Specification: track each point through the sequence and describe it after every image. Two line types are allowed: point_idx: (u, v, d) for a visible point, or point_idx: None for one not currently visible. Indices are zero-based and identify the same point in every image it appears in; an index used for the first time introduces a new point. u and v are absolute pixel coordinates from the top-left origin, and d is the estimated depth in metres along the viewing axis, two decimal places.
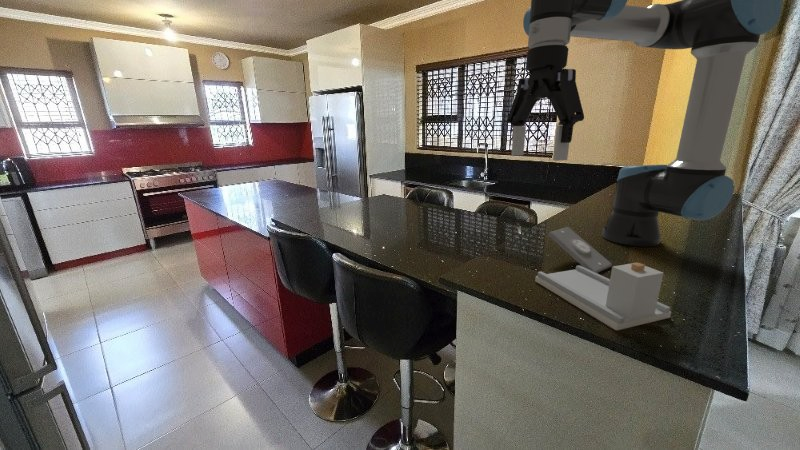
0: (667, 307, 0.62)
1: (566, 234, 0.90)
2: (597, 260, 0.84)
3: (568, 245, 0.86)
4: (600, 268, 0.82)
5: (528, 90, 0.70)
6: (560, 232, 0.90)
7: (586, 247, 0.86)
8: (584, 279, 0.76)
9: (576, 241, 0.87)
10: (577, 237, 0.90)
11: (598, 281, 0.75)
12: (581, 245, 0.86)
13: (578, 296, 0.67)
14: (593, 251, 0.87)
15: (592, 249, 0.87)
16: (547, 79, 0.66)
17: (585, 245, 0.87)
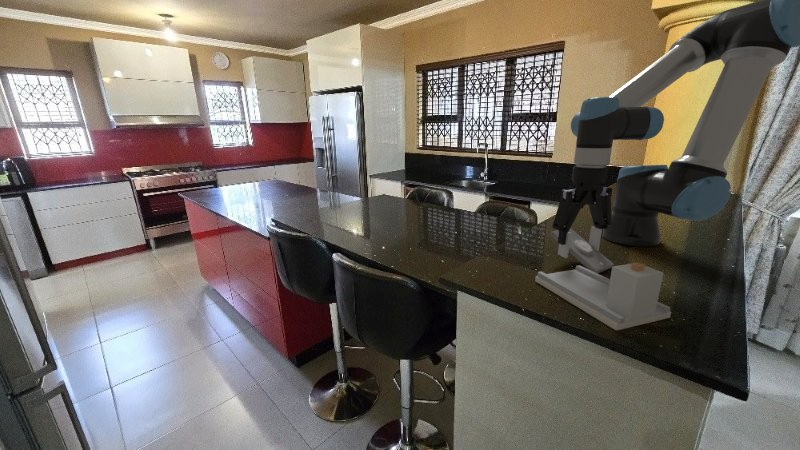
0: (667, 307, 0.62)
1: None
2: (599, 260, 0.84)
3: (570, 245, 0.86)
4: (602, 268, 0.82)
5: None
6: None
7: (588, 247, 0.86)
8: (584, 279, 0.76)
9: (578, 241, 0.87)
10: (579, 237, 0.90)
11: (598, 281, 0.75)
12: (583, 245, 0.86)
13: (578, 296, 0.67)
14: (595, 252, 0.86)
15: (594, 249, 0.87)
16: None
17: (587, 245, 0.86)
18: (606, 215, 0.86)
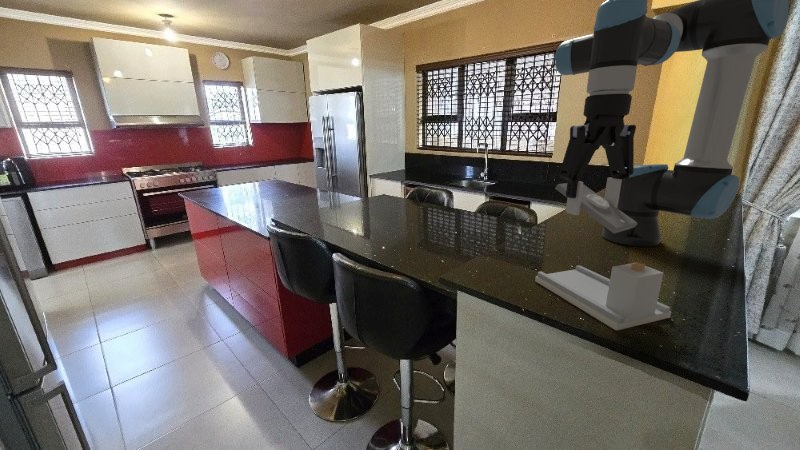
0: (667, 307, 0.62)
1: None
2: (619, 217, 0.66)
3: (581, 199, 0.68)
4: (623, 226, 0.64)
5: None
6: None
7: (604, 202, 0.68)
8: (584, 279, 0.76)
9: (591, 195, 0.69)
10: (592, 192, 0.72)
11: (598, 281, 0.75)
12: (598, 199, 0.68)
13: (578, 296, 0.67)
14: (612, 208, 0.68)
15: (611, 206, 0.69)
16: None
17: (602, 200, 0.68)
18: (627, 161, 0.68)
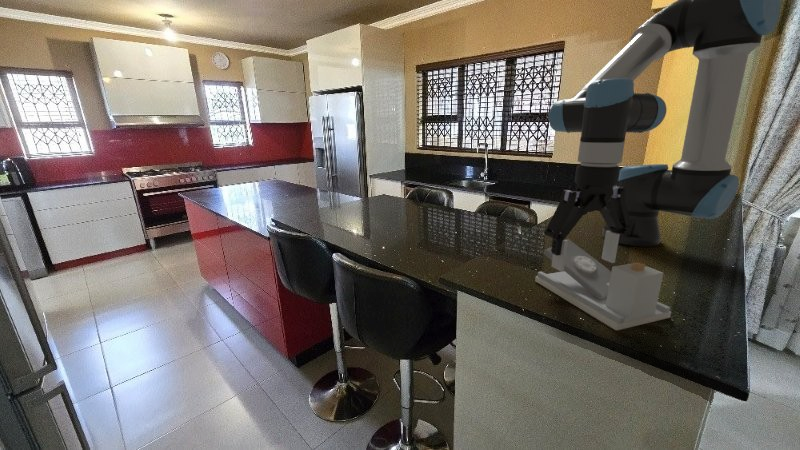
0: (667, 307, 0.62)
1: None
2: (606, 280, 0.69)
3: (569, 265, 0.71)
4: None
5: None
6: None
7: (591, 264, 0.71)
8: None
9: (578, 258, 0.72)
10: (580, 251, 0.75)
11: None
12: (584, 263, 0.71)
13: (578, 296, 0.67)
14: (600, 269, 0.72)
15: (599, 265, 0.72)
16: None
17: (590, 262, 0.72)
18: (623, 219, 0.71)
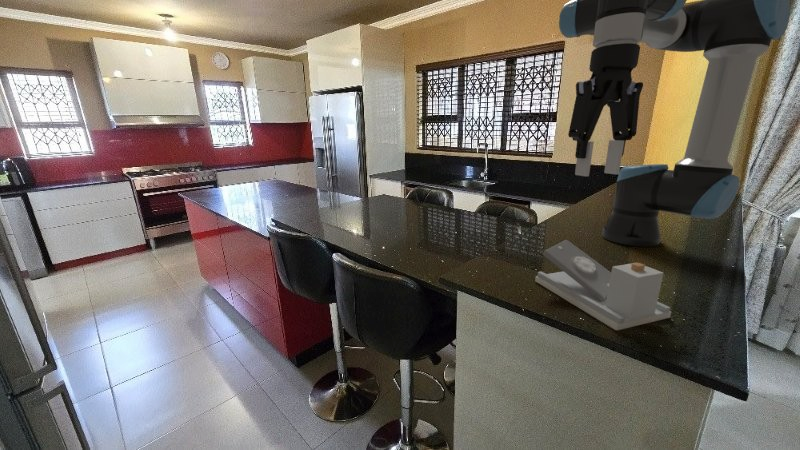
0: (667, 307, 0.62)
1: (565, 250, 0.74)
2: (606, 280, 0.69)
3: (568, 266, 0.71)
4: None
5: None
6: (557, 249, 0.74)
7: (590, 265, 0.71)
8: None
9: (577, 259, 0.72)
10: (579, 252, 0.75)
11: None
12: (584, 263, 0.71)
13: (578, 296, 0.67)
14: (599, 269, 0.71)
15: (598, 266, 0.72)
16: None
17: (589, 262, 0.71)
18: (631, 121, 0.65)
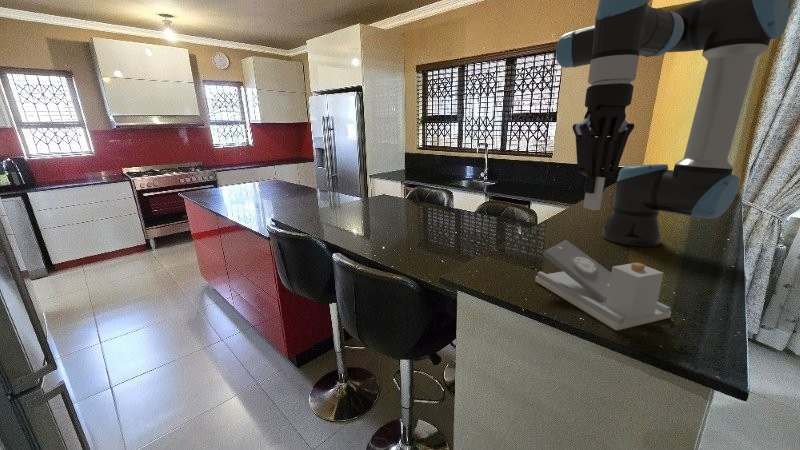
0: (667, 307, 0.62)
1: (565, 250, 0.74)
2: (606, 281, 0.69)
3: (569, 266, 0.70)
4: None
5: None
6: (557, 249, 0.74)
7: (590, 265, 0.71)
8: None
9: (577, 259, 0.72)
10: (578, 252, 0.75)
11: None
12: (584, 264, 0.71)
13: (578, 296, 0.67)
14: (599, 269, 0.71)
15: (598, 266, 0.72)
16: None
17: (589, 263, 0.71)
18: (615, 158, 0.66)
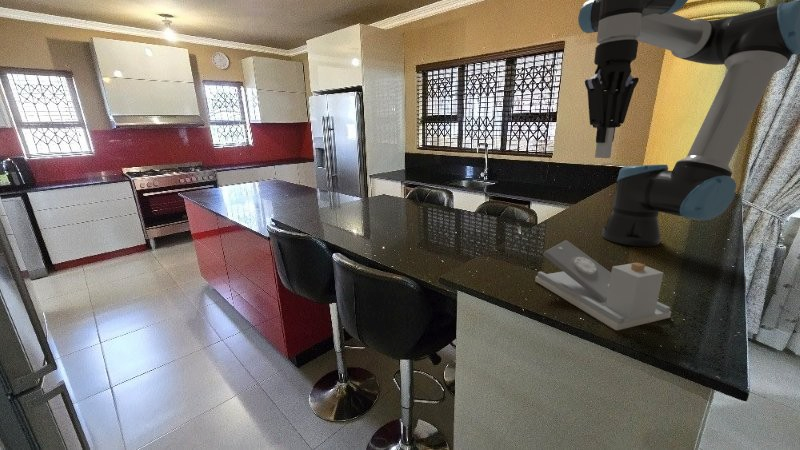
0: (667, 307, 0.62)
1: (565, 251, 0.74)
2: (606, 281, 0.69)
3: (569, 266, 0.70)
4: None
5: None
6: (557, 249, 0.74)
7: (591, 266, 0.71)
8: None
9: (578, 259, 0.71)
10: (579, 252, 0.74)
11: None
12: (584, 264, 0.70)
13: (578, 296, 0.67)
14: (600, 270, 0.71)
15: (599, 266, 0.72)
16: None
17: (589, 263, 0.71)
18: (622, 109, 0.74)
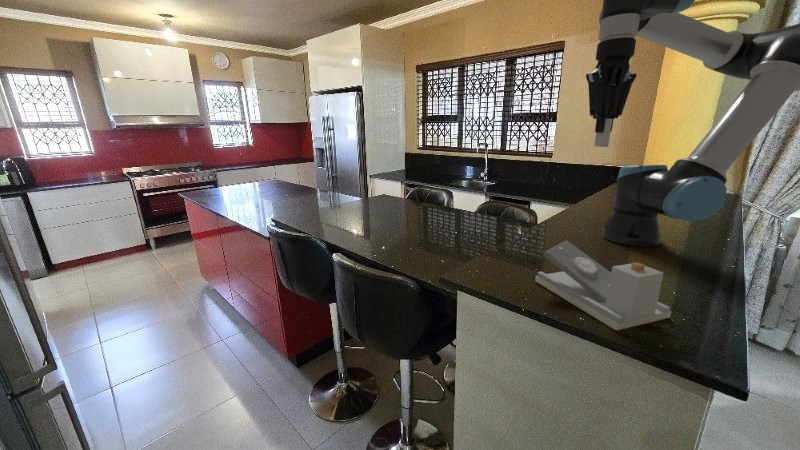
0: (667, 307, 0.62)
1: (566, 251, 0.74)
2: (607, 281, 0.69)
3: (569, 267, 0.70)
4: None
5: None
6: (558, 249, 0.74)
7: (591, 266, 0.70)
8: None
9: (578, 259, 0.71)
10: (579, 253, 0.74)
11: None
12: (585, 264, 0.70)
13: (578, 296, 0.67)
14: (600, 270, 0.71)
15: (599, 266, 0.72)
16: None
17: (590, 263, 0.71)
18: (620, 102, 0.81)
